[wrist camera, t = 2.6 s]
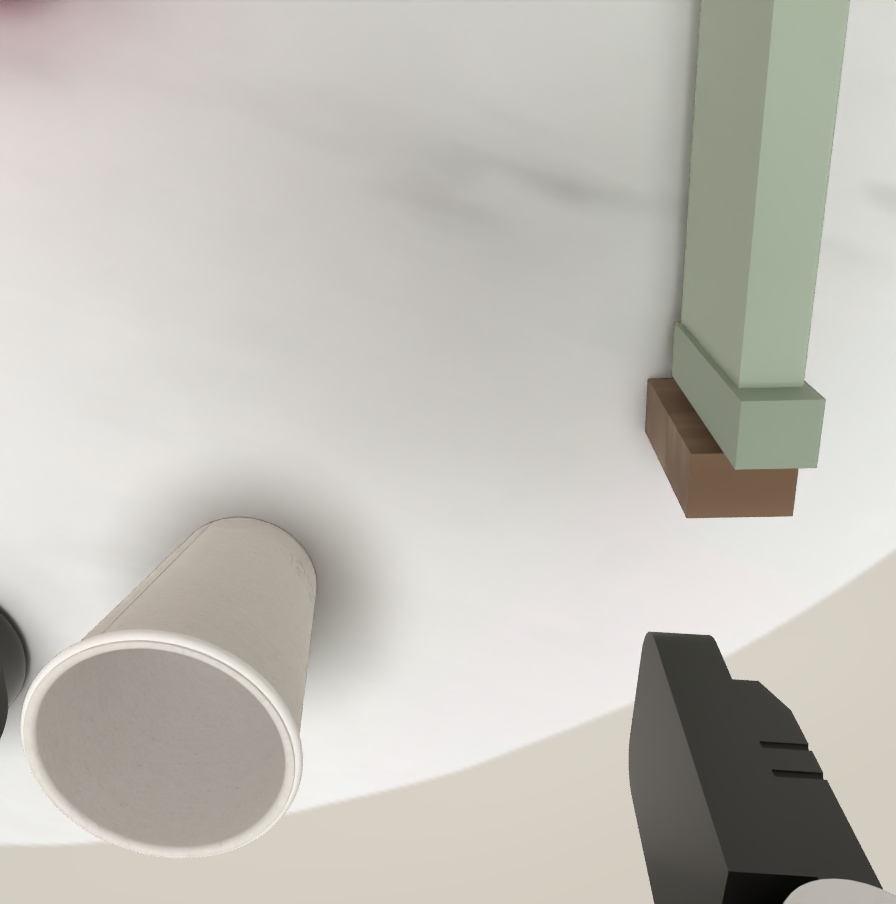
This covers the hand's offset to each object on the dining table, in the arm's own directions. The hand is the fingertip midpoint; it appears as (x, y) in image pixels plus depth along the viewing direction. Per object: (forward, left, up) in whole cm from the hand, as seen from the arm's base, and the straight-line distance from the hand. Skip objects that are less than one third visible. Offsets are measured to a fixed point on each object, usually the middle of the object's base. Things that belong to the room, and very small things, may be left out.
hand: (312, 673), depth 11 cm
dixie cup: (+11, -8, -21) cm, 25 cm away
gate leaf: (-8, +9, -19) cm, 23 cm away
